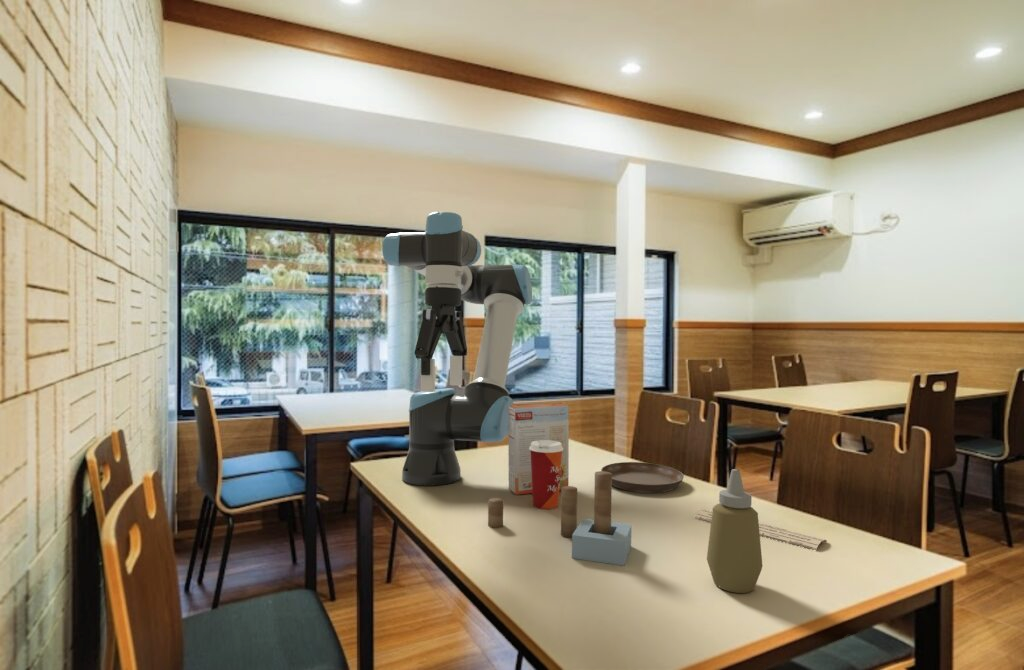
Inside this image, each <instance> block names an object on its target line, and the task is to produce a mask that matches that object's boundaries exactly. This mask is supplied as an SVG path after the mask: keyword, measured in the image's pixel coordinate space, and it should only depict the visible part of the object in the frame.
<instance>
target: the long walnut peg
mask: <svg viewBox="0 0 1024 670" xmlns="http://www.w3.org/2000/svg"><path fill="white" fill-rule="evenodd" d="M612 489H613V485H612V473H610V472H605V471H595V472H594V491H593V492H594V497H593V498H594V502H593V503H594V506H593V520H594V533H599V534H606V535H611V522H612V500H613V499H612V497H613V496H612V494H613V493H612Z"/></svg>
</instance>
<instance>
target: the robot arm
mask: <svg viewBox="0 0 1024 670" xmlns="http://www.w3.org/2000/svg"><path fill="white" fill-rule="evenodd" d="M425 222H426V223H425V230H424V232H423V231H421V232H420V231H419V232H401V231H400V232H396V233H389V234H387V235H386V236H385V237H384V238H383V241H382V247H381V250H382V251H381V252H382V257H383V260H384V261H385V263H386V264H387V265H389V266H394V267H395V266H396V267H400V266H404V267H407V268H409V269H411V270H413V271H414V272H417V273H419V274H420V275H421V276H424V277H425V280H424V281H425V282H424V284H425V285H426V286H427V287H426V289H424V290H425V291H424V292H425V294H424V295H425V297H424V299H425V300H424V303H425V305H426V306H427V307H431V308H430V309H429V308H424V309H422V310H423V311H422V319H421V323H420V328H419V332H418V336H417V341H416V345H415V350H414V356H415V359H418V360H419V359H420V391H418V392H414V393H413V394H412V395H411V396H410V399H409V407H408V413H409V418H408V419H409V424H408V425H409V428H408V429H409V430H408V432H409V433H408V434H409V435H408V436H409V437H408V438H409V439H408V440H409V443H408V444H409V445H408V447H409V448H408V451H407V455H406V457H405V461H404V464H403V466H402V467H403V468H402V473H401V480H402V481H403V482H405V483H407V484H411V485H415V486H416V485H417V486H442V485H443V486H444V485H448V484H452V483H454V482H457V481H459V480H460V479H461V466H460V464H459V459H458V457H457V453H456V450H455V441H465V442H466V441H467V442H468V441H469V442H480V443H481V442H482V443H500V442H502V441H503V440H505V439H506V437H508V423H509V417H508V411H509V409H508V406H509V405H515V404H514V400H513V399H512V398H511V397H510V392H509V391H508V389H507V388H506V382H507V381H506V380H507V375H508V371H509V364H510V357H511V351H512V347H513V341H514V335H515V330H516V323H517V317H519V316H520V315H521V314H522V313H523V312H524V308H525V306H528V305H531V304H532V302H533V286H532V279H531V273H530V271H529V268H528V267H527V266H526V265H524V264H514V263H511V264H484V265H483V264H478V265H476V263H477V262H478V261H479V259H480V258H481V255H482V245H481V242H480V241H479V240H478V238H477V237H476V236H474V235H473V234H472V233H469V232H467V231H465V230H463V229H464V226H463V220H462V216H461V215H460V214H459V213H456V212H453V211H452V212H450V211H434V212H431V213H429V214H428V215H427V217H426V221H425ZM462 301H463V302H466V303H469V304H476V305H483V306H484V308H485V310H486V311H487V312H486V317H485V319H484V326H483V331H482V334H481V335H482V336H481V339H480V343H479V351H478V354H477V360H476V364H475V368H474V373H473V374H474V375H473V378H472V381H471V382H469V383H467V384H466V386H465V389H464V393H463V394H456V390H455V388H453V387H452V388H451V387H450V388H449V387H447V388H436V389H435V382H436V381H435V379H436V378H435V374H436V373H435V370H436V359H435V358H434V354H435V352H436V349H437V346H438V344H439V342H440V338H441V336H442V334H444V335H445V338H446V341H447V343H448V346H449V348H450V353H451V355H449V385H450V386H463V356H464V357H465V356H467V355H468V347H467V346H468V345H467V340H466V336H465V330H464V326H463V319H462V316H463V314H462V311H460V310H455V307H460V306H461V305H462Z"/></svg>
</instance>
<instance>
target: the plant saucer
mask: <svg viewBox="0 0 1024 670" xmlns="http://www.w3.org/2000/svg"><path fill="white" fill-rule="evenodd" d="M600 470H601V471H605V472H610V473H612V487H615V488H617V489H619V488H620V490H623V491H627V492H628V491H629V492H632V491H633V492H634V493H641V492H642V493H645V494H657V492H660V493H665V491H667V492H670V491H673V490H674V489H675V488H677V487H678V486H679V485H680V484H681V483H682V481H683V480H684V478H685V477H684V476H685V475H684V474H683V472H681V471H680V470H678V469H675V468H673V467H669V466H666V465H662V464H656V463H652V462H651V463H650V462H638V461H624V462H621V461H620V462H613V463H609V464H607V465H604V466H602V468H601V469H600ZM669 490H670V491H669Z"/></svg>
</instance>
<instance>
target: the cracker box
mask: <svg viewBox="0 0 1024 670" xmlns="http://www.w3.org/2000/svg"><path fill="white" fill-rule="evenodd" d="M508 409H509V411H508V417H509V423H508V435H507V437H508V440H507V441H508V490H510V491H511V492H512V493H513V494H514V495H517V496H518V495H519V496H520V495H525V494H526V495H528V494H533V493H532V472H531V450H530V449H529V447H530V446H531V443H532V442H533V441H537V440H552V441H558V442H561V444H562V447H563V451H562V459H561V474H560V488H559V492H560V491H561V488H562V487H564V486H569V477H570V476H569V475H570V473H569V459H570V458H569V457H570V455H569V454H570V453H569V446H570V445H569V441H570V440H569V439H570V437H569V435H570V434H569V431H570V430H569V429H570V427H569V425H570V424H569V419H570V418H569V411H570V410H569V409H570V406H569V405H567V404H564V403H561V402H555V403H530V404H529V403H528V404H525V403H524V404H514V405H509V406H508Z"/></svg>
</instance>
